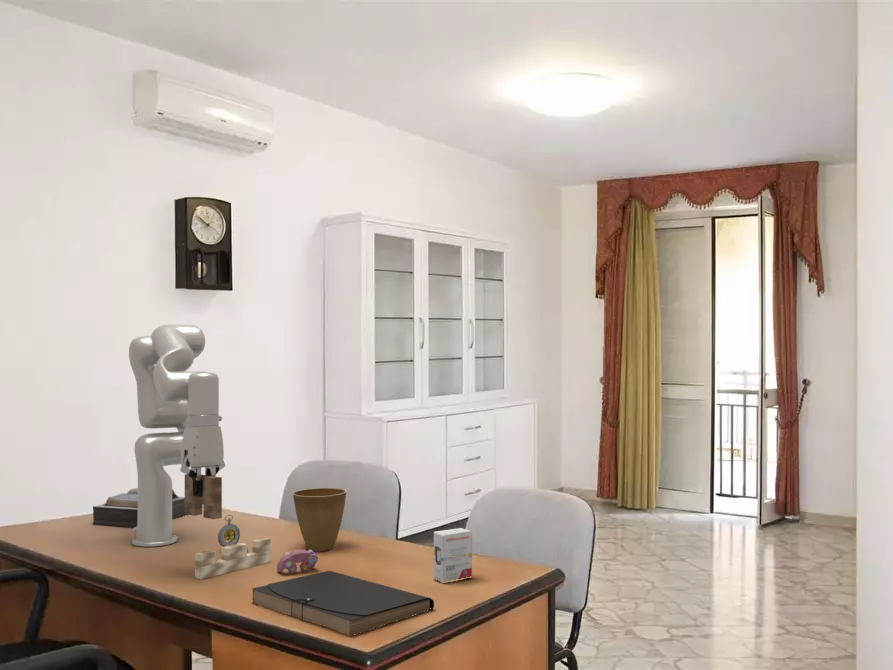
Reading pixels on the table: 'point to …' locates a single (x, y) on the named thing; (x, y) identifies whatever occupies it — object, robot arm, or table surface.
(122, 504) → the dark grey storage box
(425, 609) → the file folder
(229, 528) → the pocket watch
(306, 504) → the plant pot
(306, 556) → the video game controller
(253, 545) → the wooden crenellated block
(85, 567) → the table surface
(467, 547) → the ink box
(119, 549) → the table surface
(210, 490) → the walnut plate
